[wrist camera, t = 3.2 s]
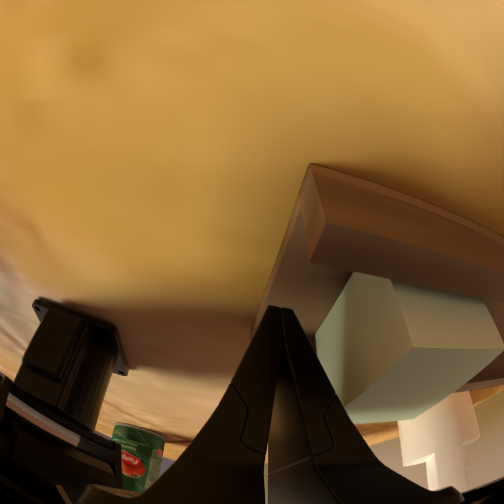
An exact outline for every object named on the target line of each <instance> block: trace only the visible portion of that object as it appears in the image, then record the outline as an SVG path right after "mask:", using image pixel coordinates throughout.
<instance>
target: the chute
mask: <svg viewBox="0 0 504 504" xmlns="http://www.w3.org/2000/svg"><path fill="white" fill-rule="evenodd" d="M353 272H358V273H363V274H368V275H373V276H377V277H382V278H387V279H392V280H397V281H402V282H406V283H411V284H416V285H421V286H426V287H430V288H435V289H440V290H445V291H450V292H455V293H459V294H464V295H469V296H474V297H479V298H482V299H483V301H484V303H485V305H486V307H487V309H488V311H489V313H490V315H491V317H492V319H493V321H494V323H495V325H496V327H497V329H498V332H499V334H500V336H501V338H502V340H503V343H504V237H503V236H501V235H499V234H497V233H495V232H493V231H491V230H489V229H487V228H485V227H483V226H481V225H479V224H477V223H474V222H472V221H470V220H468V219H466V218H463V217H461V216H459V215H457V214H454V213H452V212H450V211H447V210H445V209H443V208H440V207H438V206H435V205H433V204H430V203H428V202H425V201H423V200H420V199H418V198H415V197H412V196H410V195H407V194H404V193H402V192H399V191H396V190H393V189H391V188H388V187H385V186H382V185H379V184H376V183H373V182H370V181H367V180H364V179H361V178H358V177H355V176H351V175H348V174H345V173H342V172H338V171H335V170H332V169H328V168H325V167H321V166H317V165H314V164H310V163H309V165H308V168H307V171H306V174H305V177H304V180H303V183H302V186H301V189H300V192H299V195H298V198H297V201H296V204H295V207H294V210H293V213H292V216H291V219H290V222H289V224H288V227H287V230H286V233H285V236H284V239H283V242H282V245H281V247H280V250H279V253H278V256H277V259H276V262H275V264H274V267H273V270H272V273H271V276H270V279H269V281H268V284H267V287H266V290H265V292H264V295H263V298H262V301H261V303H260V306H259V309H258V312H257V314H256V317H255V320H254V322H253V325H252V328H251V335H250V342H251V340H252V338H253V335H254V333H255V331H256V329H257V327H258V325H259V323H260V321H261V319H262V316H263V314H264V312H265V310H266V308H267V306H268V305H273V306H278V307H280V308H281V307H285V308H291V309H292V310H293V311H294V313H295V315H296V317H297V319H298V320H299V322H300V324H301V326H302V328H303V330H304V332H305V334H306V336H307V338H308V340H309V341H310V343H311V345H312V347H313V349H314V351H315V353H316V355H317V350H316V338H315V334H316V332H317V331H318V329H319V328H320V326H321V325H322V323H323V321H324V320H325V318H326V317H327V315H328V314H329V312H330V310H331V309H332V307H333V306H334V304H335V302H336V301H337V299H338V297H339V296H340V294H341V292H342V291H343V289H344V287H345V286H346V284H347V282H348V281H349V279H350V277H351V275H352V274H353ZM503 384H504V351H503V352H501V353H500V354H499V355H498V356H497V357H496V358H495V359H494V360H493V361H492V362H490V363H489V364H488V365H487V366H486V367H485V368H484V369H482V370H481V371H480V372H479V373H478V374H476V375H475V376H474V377H473V378H471V379H470V380H469V381H468V382H466V383H465V384H464V385H463V386H461V387H460V388H459V389H457V390H456V391H455V392H453V393H457V392H464V391H471V390H477V389H482V388H488V387H493V386H498V385H503Z"/></svg>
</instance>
